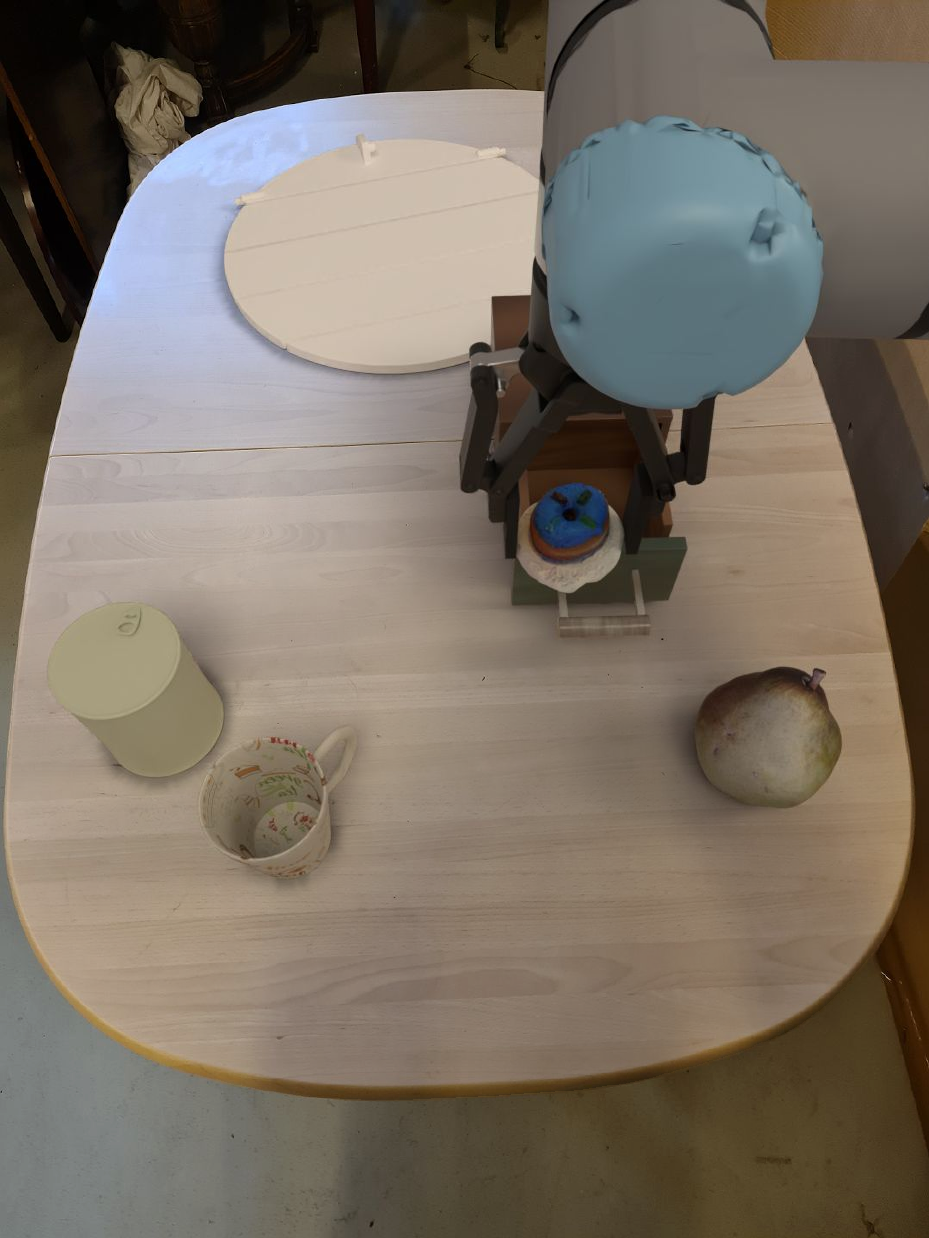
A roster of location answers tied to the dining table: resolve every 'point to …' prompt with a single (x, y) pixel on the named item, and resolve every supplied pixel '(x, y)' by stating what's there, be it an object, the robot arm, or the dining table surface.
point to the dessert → (569, 537)
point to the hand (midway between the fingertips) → (569, 540)
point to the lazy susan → (384, 253)
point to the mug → (273, 803)
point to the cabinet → (506, 334)
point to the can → (136, 688)
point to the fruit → (768, 737)
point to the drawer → (609, 468)
